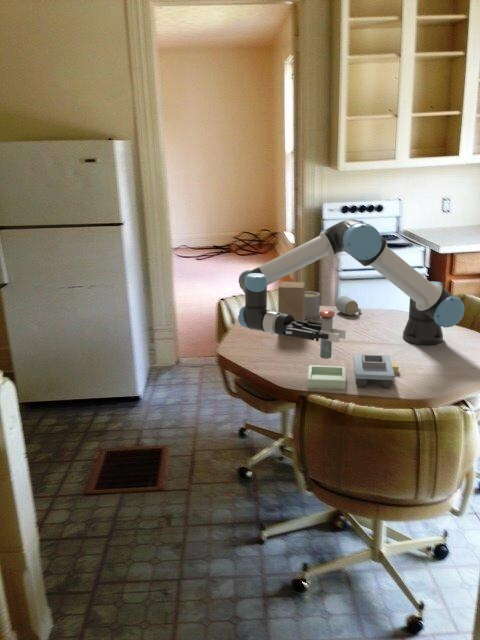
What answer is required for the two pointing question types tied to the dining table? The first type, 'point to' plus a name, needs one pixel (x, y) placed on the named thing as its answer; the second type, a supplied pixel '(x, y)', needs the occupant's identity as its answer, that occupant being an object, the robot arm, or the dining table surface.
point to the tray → (326, 377)
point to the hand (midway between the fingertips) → (341, 336)
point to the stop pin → (327, 326)
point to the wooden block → (292, 299)
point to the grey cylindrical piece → (312, 304)
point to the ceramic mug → (347, 305)
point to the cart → (374, 369)
